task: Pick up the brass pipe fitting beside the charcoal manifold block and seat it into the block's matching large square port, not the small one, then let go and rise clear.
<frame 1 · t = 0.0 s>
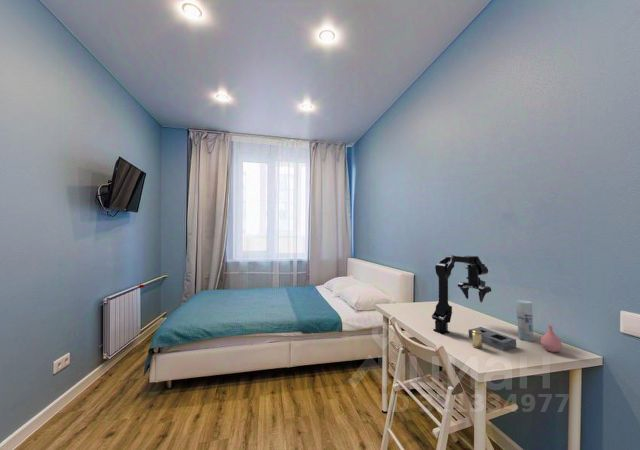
hand: (474, 300, 156), 15 cm above the table, tool pointing down, fingers open, 9 cm apart
manifold plate: (491, 342, 130), on the table
brass fitting: (477, 347, 125), on the table
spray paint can: (525, 339, 133), on the table
pink teardrop bulb: (551, 351, 119), on the table
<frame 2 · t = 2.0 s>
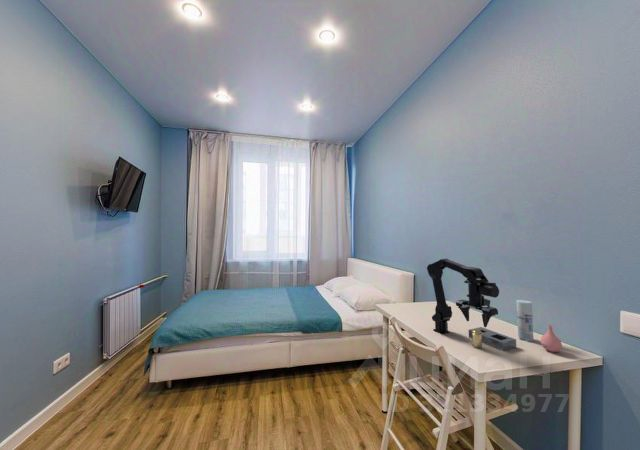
hand: (476, 324, 125), 11 cm above the table, tool pointing down, fingers open, 9 cm apart
nothing on the table moved.
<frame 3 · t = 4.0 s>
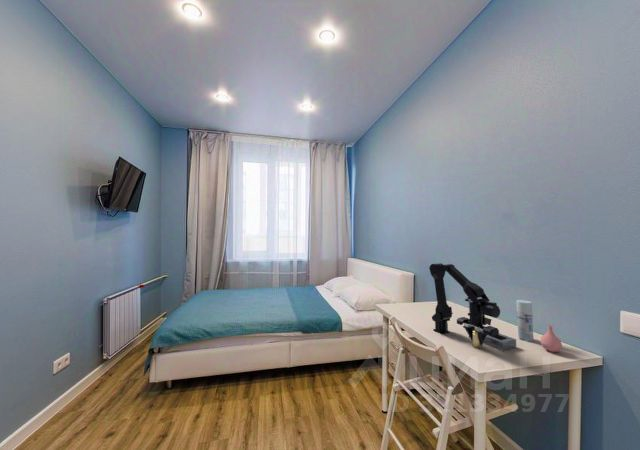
hand: (477, 343, 125), 2 cm above the table, tool pointing down, fingers closed on brass fitting, 4 cm apart
brass fitting: (477, 347, 125), on the table, touching gripper
everything else where it was.
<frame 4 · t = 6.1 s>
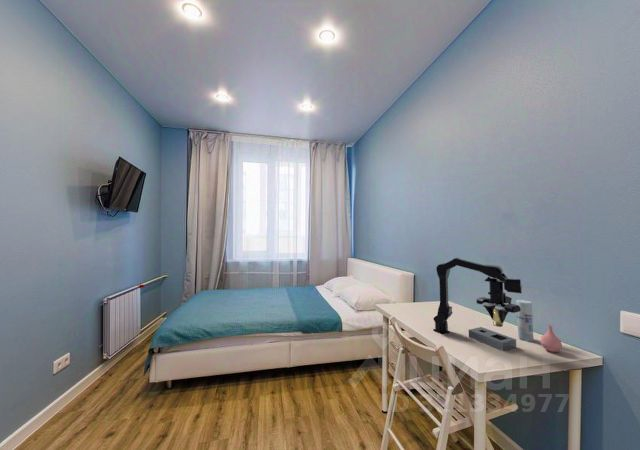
hand: (497, 321, 127), 12 cm above the table, tool pointing down, fingers closed on brass fitting, 4 cm apart
brass fitting: (498, 325, 126), point 10 cm above the table, touching gripper
everything else where it was.
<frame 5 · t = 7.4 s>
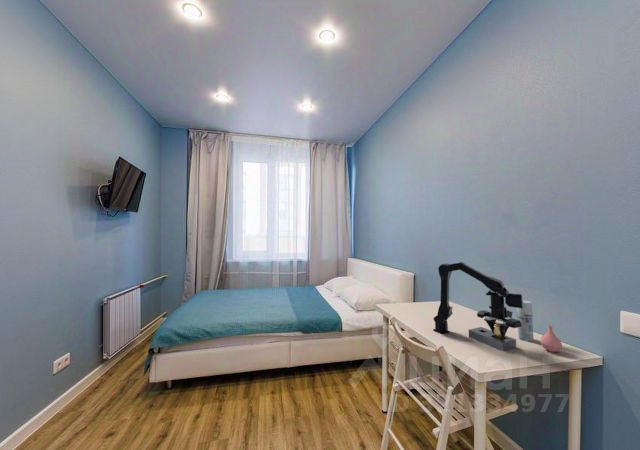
hand: (498, 335, 126), 5 cm above the table, tool pointing down, fingers closed on brass fitting, 4 cm apart
brass fitting: (498, 339, 126), point 3 cm above the table, touching gripper
everything else where it was.
when the fingers open (4 cm above the table, at t = 8.2 s): brass fitting drops 2 cm, resting in manifold plate.
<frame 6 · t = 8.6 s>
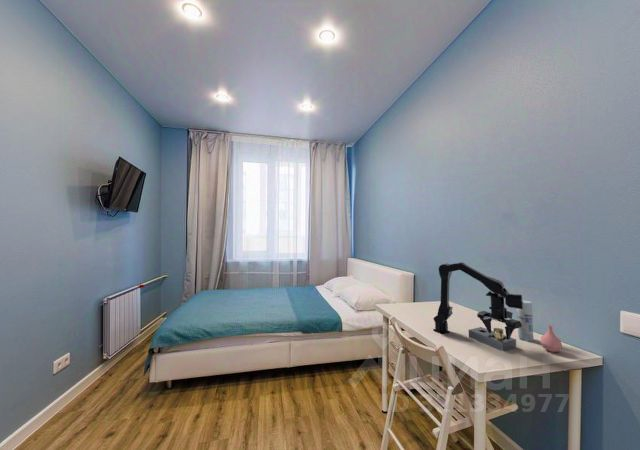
hand: (498, 336, 126), 4 cm above the table, tool pointing down, fingers open, 9 cm apart
brass fitting: (499, 345, 126), resting in manifold plate
everything else where it was.
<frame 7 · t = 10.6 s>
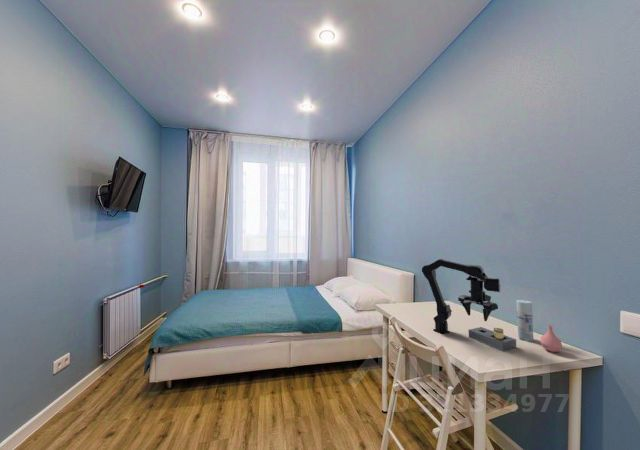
hand: (477, 318, 133), 12 cm above the table, tool pointing down, fingers open, 9 cm apart
nothing on the table moved.
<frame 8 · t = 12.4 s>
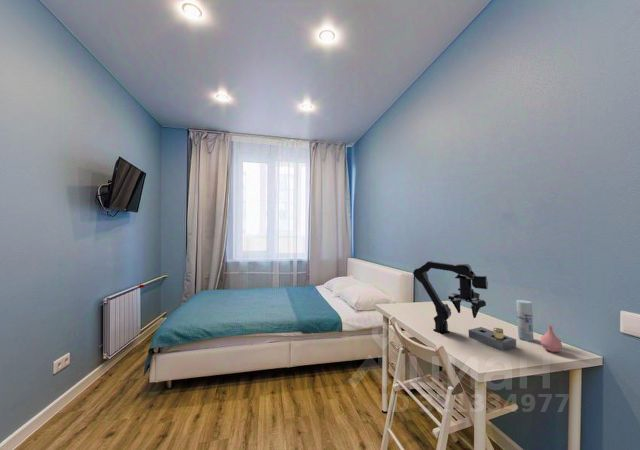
hand: (466, 315, 137), 12 cm above the table, tool pointing down, fingers open, 9 cm apart
nothing on the table moved.
at the end: brass fitting 0.1 cm from the target spot on the manifold plate, point 0.0 cm above the manifold plate's base; brass fitting tilted 1°; the gripper is holding nothing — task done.
